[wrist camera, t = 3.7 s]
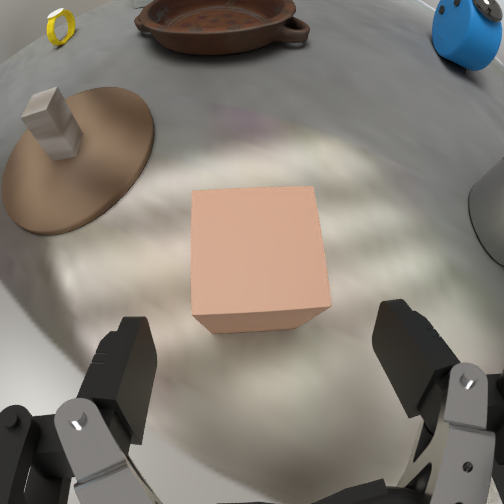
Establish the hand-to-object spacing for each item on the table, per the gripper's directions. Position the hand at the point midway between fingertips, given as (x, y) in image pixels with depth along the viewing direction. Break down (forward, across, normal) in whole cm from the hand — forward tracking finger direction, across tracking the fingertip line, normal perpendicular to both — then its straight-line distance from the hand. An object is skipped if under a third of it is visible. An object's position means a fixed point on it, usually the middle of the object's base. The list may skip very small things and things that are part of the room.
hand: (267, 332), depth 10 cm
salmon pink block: (+9, 0, +4) cm, 9 cm away
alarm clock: (+32, -33, -20) cm, 51 cm away
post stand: (+18, +15, -5) cm, 24 cm away
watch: (+36, +26, -24) cm, 51 cm away
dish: (+32, +2, -18) cm, 36 cm away
